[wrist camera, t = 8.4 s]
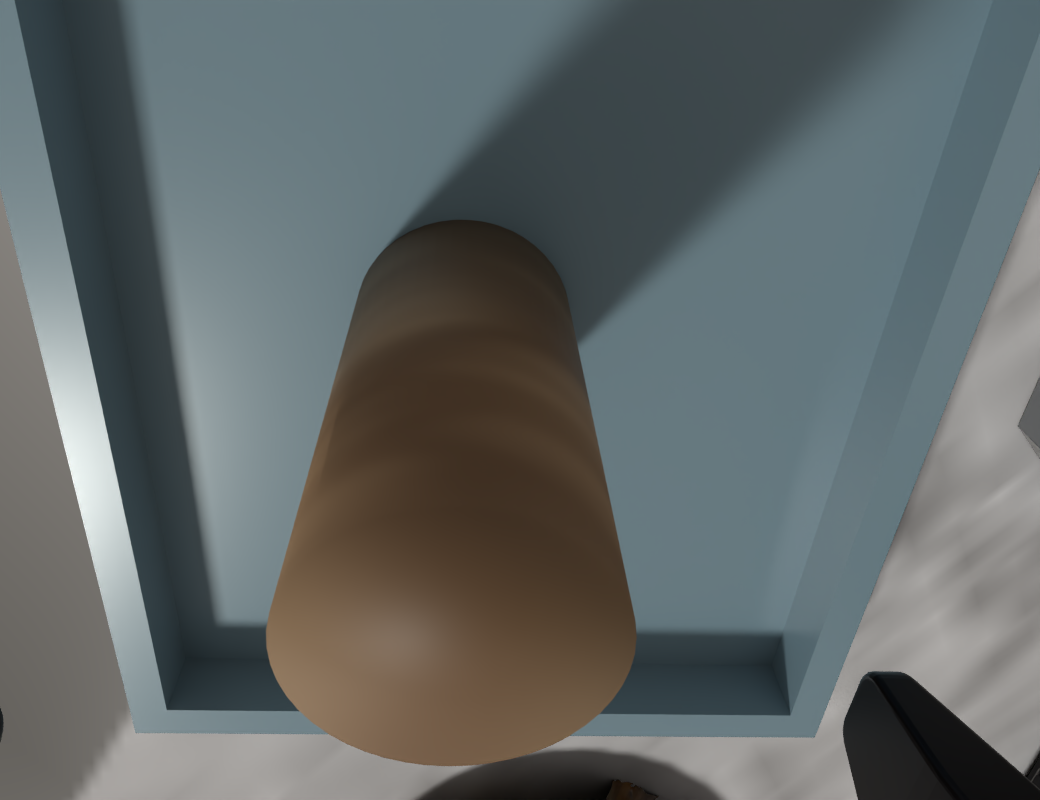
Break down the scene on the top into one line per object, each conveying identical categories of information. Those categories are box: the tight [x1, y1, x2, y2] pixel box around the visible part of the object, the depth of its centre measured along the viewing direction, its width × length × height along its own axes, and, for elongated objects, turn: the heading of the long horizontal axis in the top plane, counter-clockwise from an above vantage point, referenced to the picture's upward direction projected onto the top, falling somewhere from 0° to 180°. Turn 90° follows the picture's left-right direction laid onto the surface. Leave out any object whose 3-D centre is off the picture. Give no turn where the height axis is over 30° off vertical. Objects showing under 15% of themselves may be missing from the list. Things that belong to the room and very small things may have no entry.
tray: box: [0, 0, 1040, 737], centre depth 16 cm, size 16×20×2 cm
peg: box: [266, 220, 637, 766], centre depth 13 cm, size 4×4×8 cm
